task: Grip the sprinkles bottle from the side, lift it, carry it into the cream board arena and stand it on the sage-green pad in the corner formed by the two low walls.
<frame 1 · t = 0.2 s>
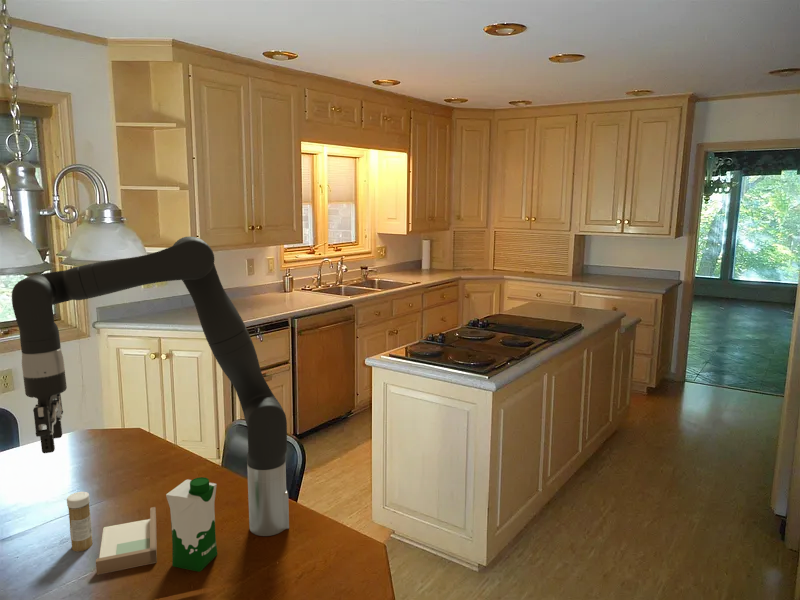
hand: (52, 444, 127), 29 cm above the table, tool pointing down, fingers open, 8 cm apart
sprinkles bottle: (82, 549, 139), on the table
arena: (129, 547, 140), on the table
milk carton: (195, 563, 134), on the table
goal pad: (133, 549, 137), resting on arena
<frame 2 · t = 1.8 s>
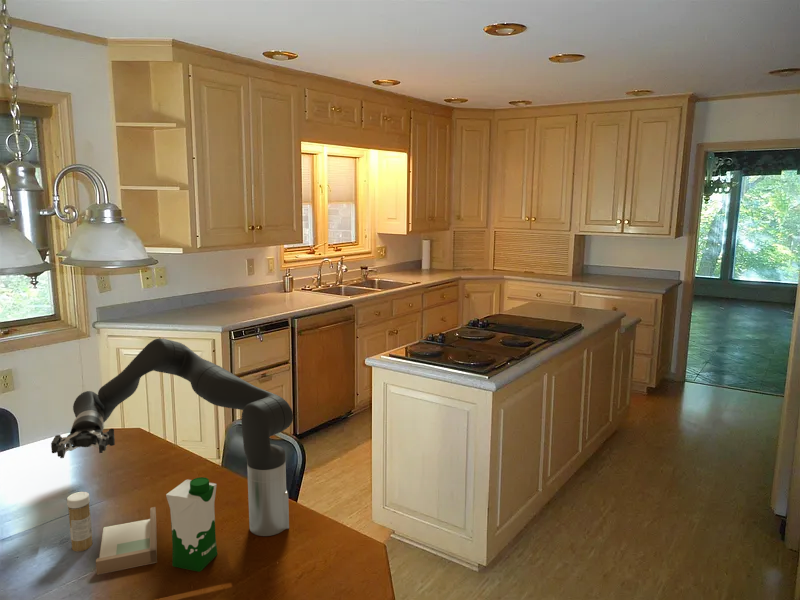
hand: (81, 451, 147), 19 cm above the table, tool horizontal, fingers open, 8 cm apart
nothing on the table moved.
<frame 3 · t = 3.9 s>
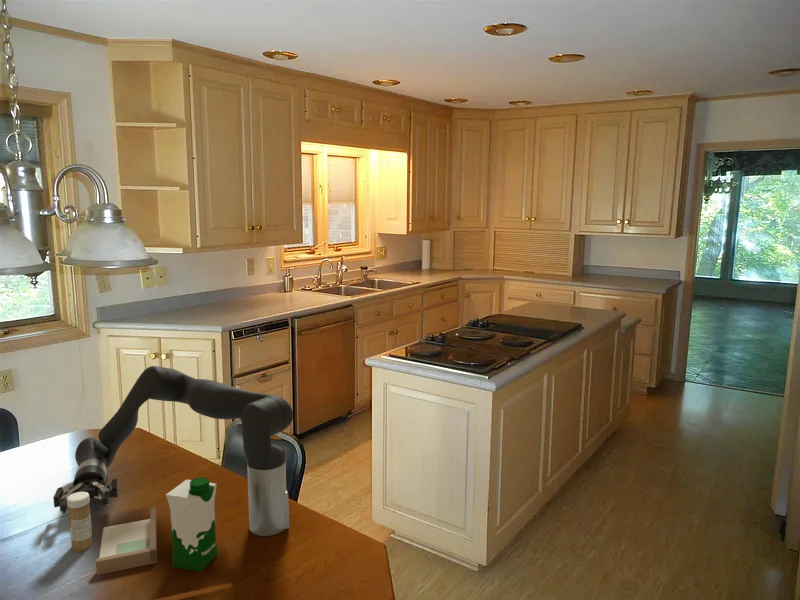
hand: (84, 506, 145), 7 cm above the table, tool horizontal, fingers open, 8 cm apart
nothing on the table moved.
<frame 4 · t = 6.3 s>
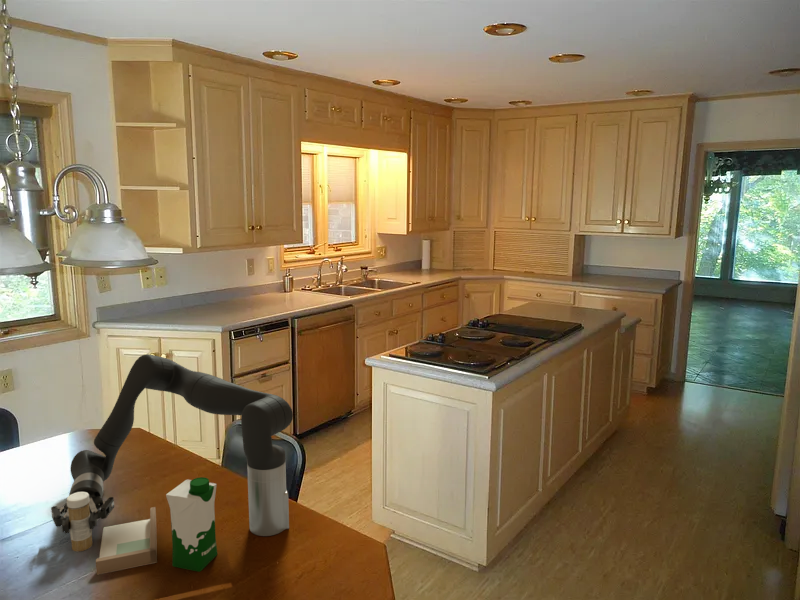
hand: (79, 527, 135), 7 cm above the table, tool horizontal, fingers closed on sprinkles bottle, 4 cm apart
sprinkles bottle: (82, 549, 139), on the table, touching gripper
everything else where it was.
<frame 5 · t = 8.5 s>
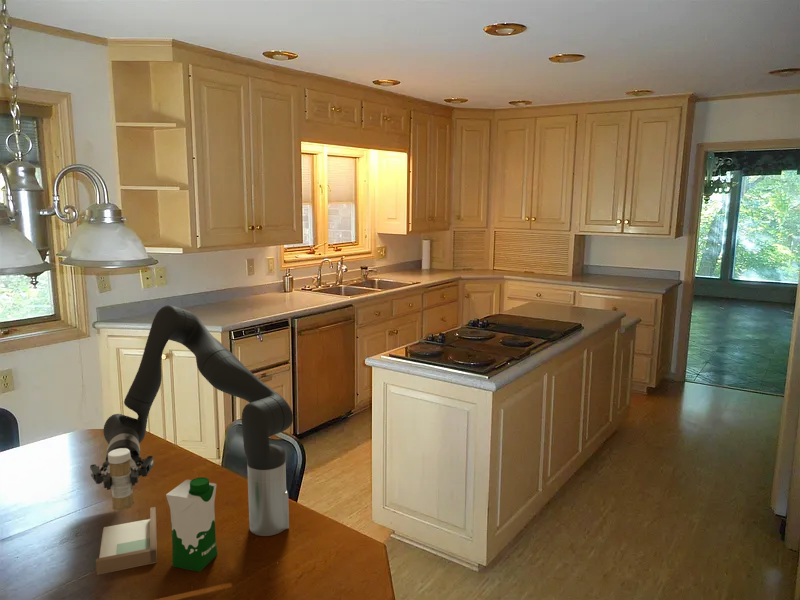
hand: (120, 483, 132), 19 cm above the table, tool horizontal, fingers closed on sprinkles bottle, 4 cm apart
sprinkles bottle: (123, 507, 136), point 11 cm above the table, touching gripper
everything else where it was.
when the fingers open (9 cm above the table, at t = 10.9 s): sprinkles bottle drops 1 cm, resting on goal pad.
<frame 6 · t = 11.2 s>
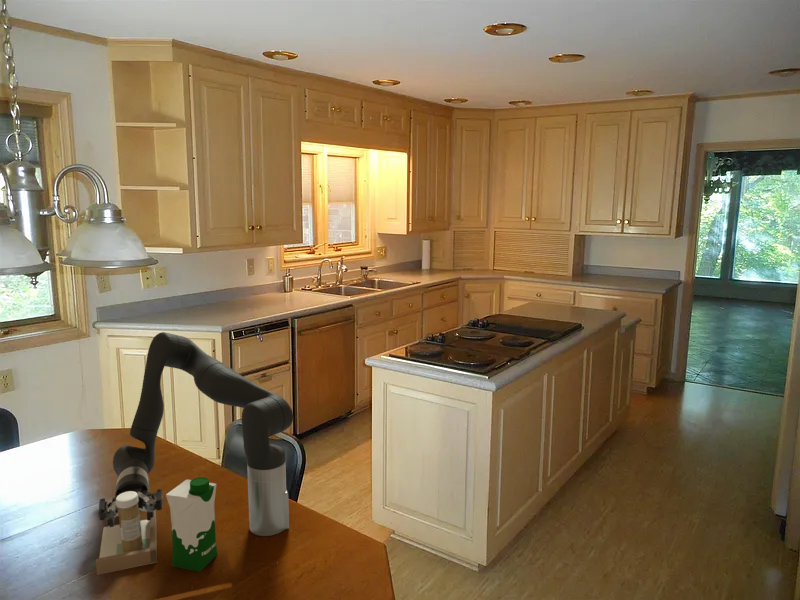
hand: (130, 519, 134), 9 cm above the table, tool horizontal, fingers open, 7 cm apart
sprinkles bottle: (133, 549, 138), point 1 cm above the table, touching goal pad
everything else where it was.
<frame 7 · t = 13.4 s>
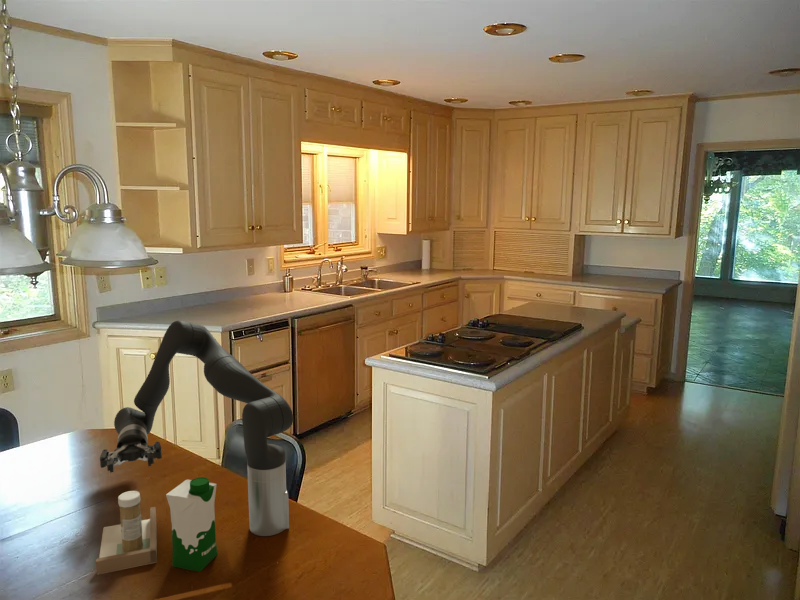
hand: (130, 465, 146), 16 cm above the table, tool horizontal, fingers open, 8 cm apart
nothing on the table moved.
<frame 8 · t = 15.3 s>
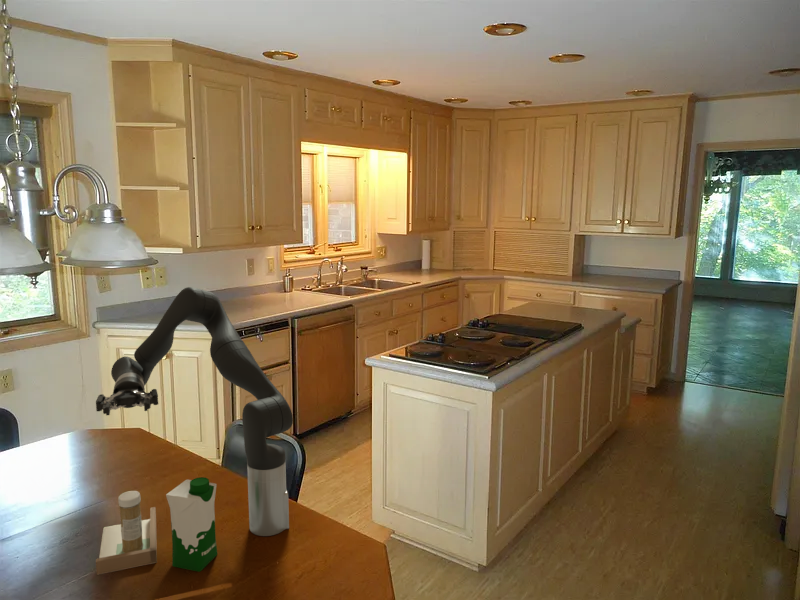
hand: (126, 409, 145), 30 cm above the table, tool horizontal, fingers open, 8 cm apart
nothing on the table moved.
at the end: sprinkles bottle inside the target area on the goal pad (0.2 cm from its centre), point 0.0 cm above the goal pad's base; sprinkles bottle tilted 0°; the gripper is holding nothing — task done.
